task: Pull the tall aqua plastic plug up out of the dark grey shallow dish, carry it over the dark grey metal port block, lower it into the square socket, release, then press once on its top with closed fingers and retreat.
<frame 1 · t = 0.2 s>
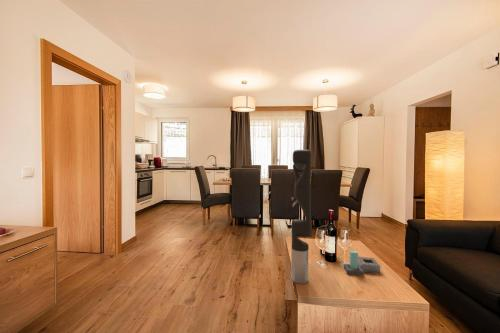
hand: (299, 211, 176), 29 cm above the table, fingers open, 8 cm apart
plug: (353, 261, 144), in the dark grey shallow dish
electronic device: (327, 254, 171), on the table
port block: (367, 268, 149), on the table
dark grey shallow dish: (353, 271, 144), on the table
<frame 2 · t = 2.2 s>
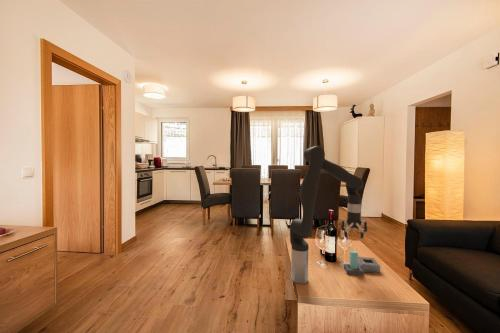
hand: (353, 237, 144), 20 cm above the table, fingers open, 8 cm apart
nothing on the table moved.
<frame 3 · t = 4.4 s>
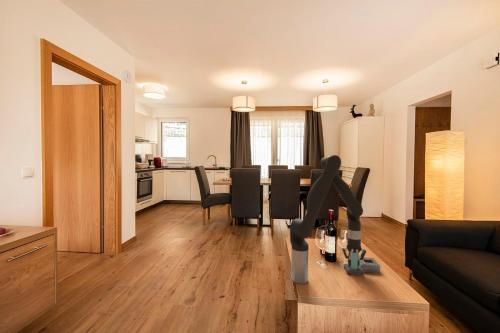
hand: (353, 265, 144), 4 cm above the table, fingers closed on plug, 3 cm apart
plug: (353, 261, 144), in the dark grey shallow dish, touching gripper
everything else where it was.
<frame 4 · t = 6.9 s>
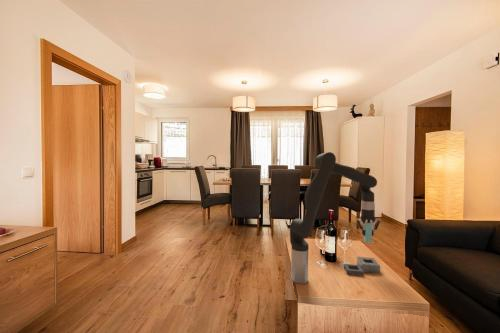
hand: (367, 235, 149), 20 cm above the table, fingers closed on plug, 3 cm apart
plug: (367, 232, 149), point 23 cm above the table, touching gripper
everything else where it was.
when the fingers open (5 cm above the table, at t = 9.3 s): plug drops 1 cm, resting in port block.
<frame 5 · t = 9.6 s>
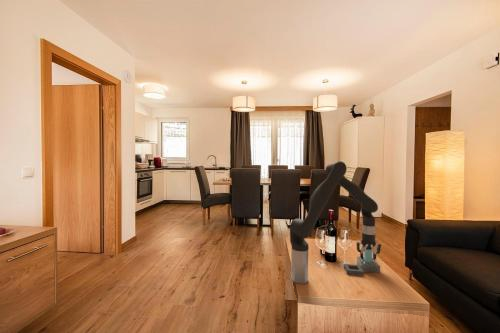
hand: (368, 259, 149), 6 cm above the table, fingers open, 6 cm apart
plug: (367, 258, 149), in the port block
everything else where it was.
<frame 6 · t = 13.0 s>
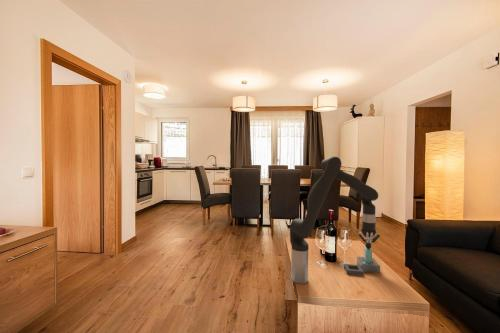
hand: (368, 248, 149), 12 cm above the table, fingers closed
nothing on the table moved.
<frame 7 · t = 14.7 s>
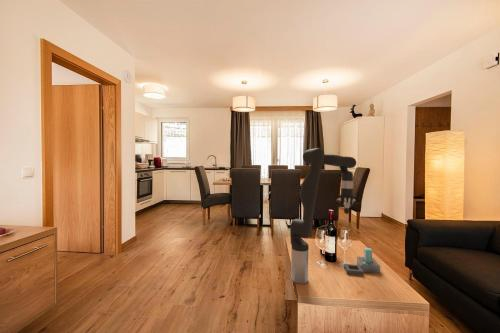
hand: (346, 213, 158), 32 cm above the table, fingers closed
nothing on the table moved.
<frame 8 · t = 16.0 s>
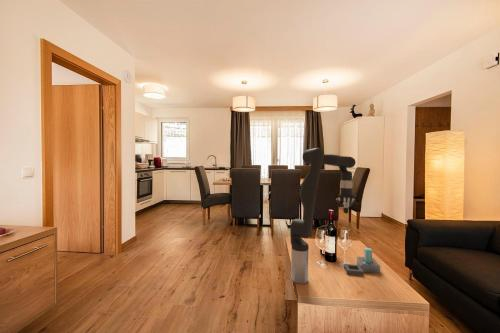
hand: (345, 213, 158), 32 cm above the table, fingers closed
nothing on the table moved.
at the end: plug 0.1 cm off-centre on the port block, point 6.0 cm above the port block's base; plug tilted 0°; the gripper is holding nothing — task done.
